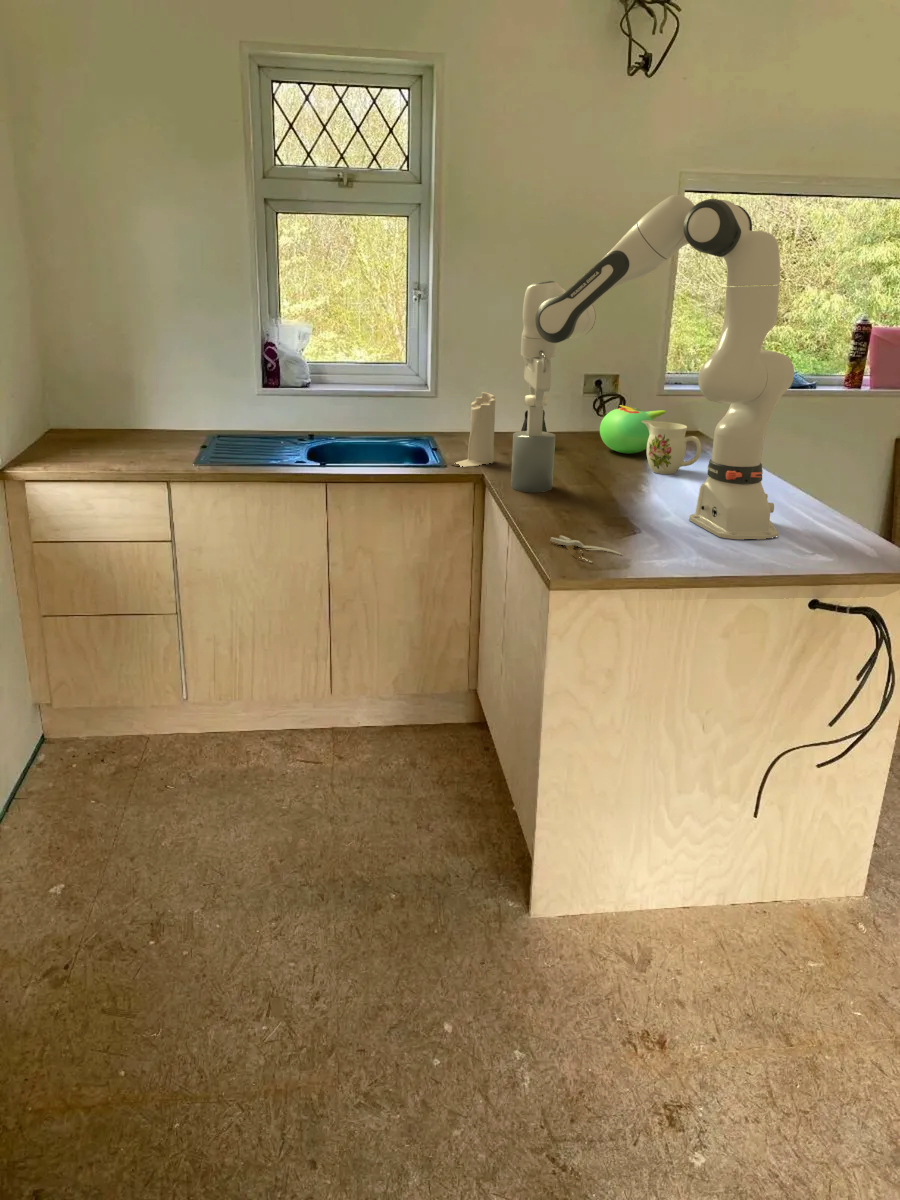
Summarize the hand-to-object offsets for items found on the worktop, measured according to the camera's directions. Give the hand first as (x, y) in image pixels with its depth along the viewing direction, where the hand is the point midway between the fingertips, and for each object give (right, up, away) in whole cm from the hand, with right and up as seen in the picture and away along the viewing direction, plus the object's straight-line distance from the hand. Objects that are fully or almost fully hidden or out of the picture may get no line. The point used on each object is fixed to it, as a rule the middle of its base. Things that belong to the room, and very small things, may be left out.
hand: (535, 404), depth 239 cm
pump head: (0, -7, +2) cm, 7 cm away
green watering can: (+33, -4, +51) cm, 61 cm away
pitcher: (+40, -14, +27) cm, 51 cm away
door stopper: (+4, -2, +55) cm, 55 cm away
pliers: (+6, -40, -41) cm, 58 cm away
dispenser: (0, -20, +8) cm, 22 cm away
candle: (-15, -11, +33) cm, 38 cm away
